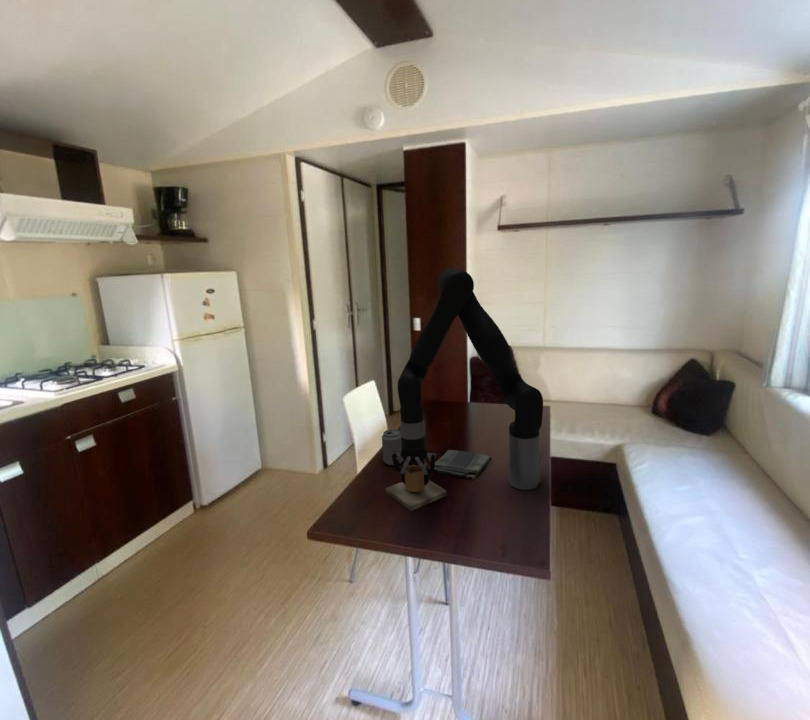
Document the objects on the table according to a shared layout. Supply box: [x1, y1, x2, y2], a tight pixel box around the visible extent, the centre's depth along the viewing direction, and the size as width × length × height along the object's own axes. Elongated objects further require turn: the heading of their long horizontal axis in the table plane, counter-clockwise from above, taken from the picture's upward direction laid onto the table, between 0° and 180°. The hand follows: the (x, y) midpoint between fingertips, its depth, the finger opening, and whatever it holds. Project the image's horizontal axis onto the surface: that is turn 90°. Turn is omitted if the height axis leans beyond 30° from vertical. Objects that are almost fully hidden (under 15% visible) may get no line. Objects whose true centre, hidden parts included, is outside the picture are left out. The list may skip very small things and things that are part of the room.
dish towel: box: [428, 449, 493, 481], centre depth 154 cm, size 19×18×3 cm
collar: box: [405, 465, 425, 492], centre depth 135 cm, size 6×6×6 cm
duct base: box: [385, 479, 448, 512], centre depth 136 cm, size 14×14×2 cm
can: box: [381, 428, 404, 466], centre depth 158 cm, size 8×8×12 cm
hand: (415, 483), depth 135 cm, fingers closed on collar, 6 cm apart
